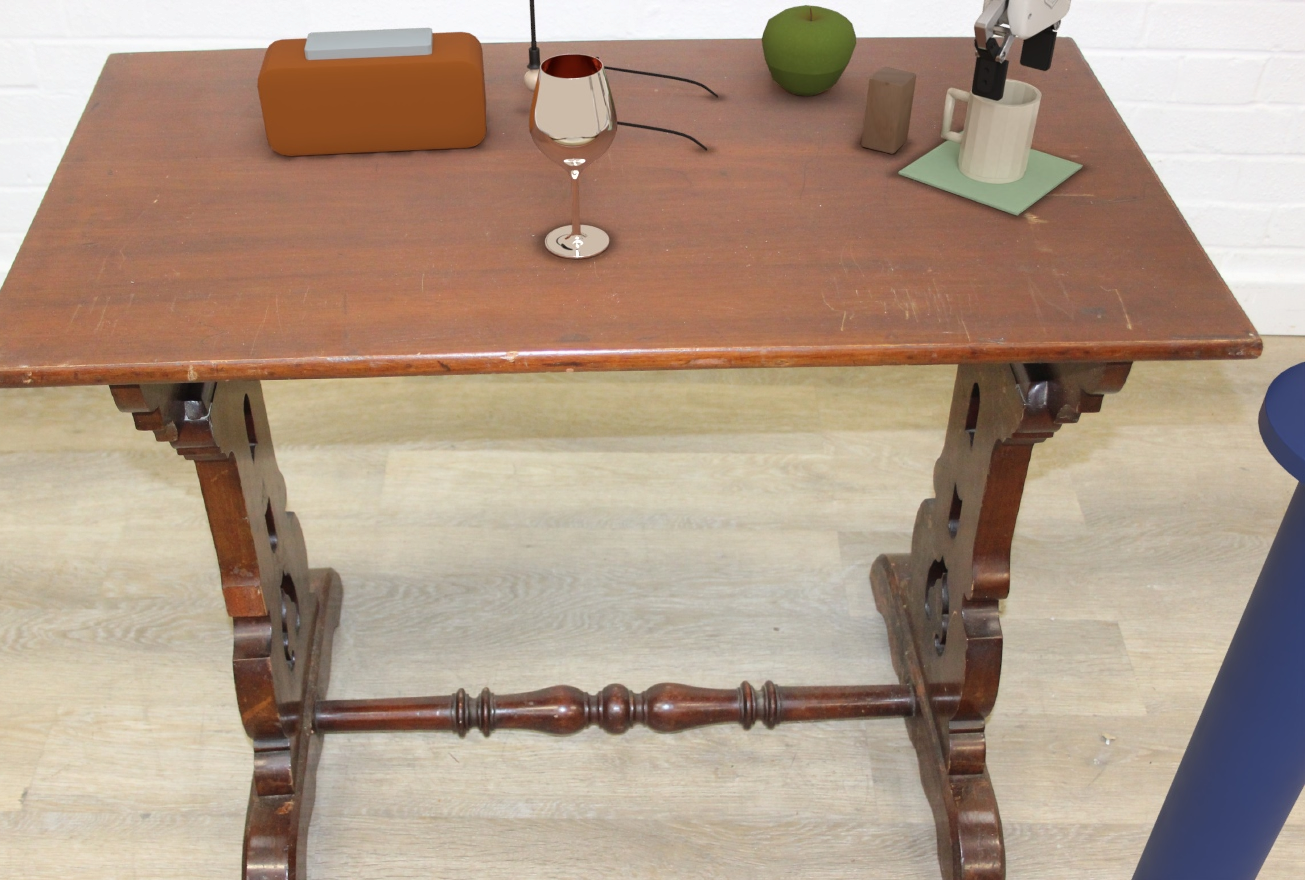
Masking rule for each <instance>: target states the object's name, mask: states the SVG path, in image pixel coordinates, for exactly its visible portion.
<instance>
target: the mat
mask: <svg viewBox="0 0 1305 880" xmlns="http://www.w3.org/2000/svg"><path fill="white" fill-rule="evenodd" d="M958 133H959V134H962V135H963V130H962V131H960V132H958ZM960 148H961V144H958V143H955V142H952V141H949V140H946V141H944V142H943V143H941V144H939V145H937V146H936V147H934V148H933V149H932V150H929V151H928V152H927V153H926V154H924V155H922V156H920V157H919V158H917V159H916V160H915V161H913V162H912V163H910V164H908V165H907V166H905V167H903V168H902V169H900V170H899V171H898V175H899V176H903V177H905V178H908V179H911V180H914V181H917V182H919V183H923V184H925V185H928V186H931V187H934V188H937V189H940V190H943V191H945V192H949V193H951V194H954V195H957V196H958V197H959V196H960V197H963V198H965V199H968V200H970V201H974V202H977V203H979V204H982V205H986V206H988V207H991V208H994V209H997V210H999V211H1003V212H1005V213H1008V214H1010V215H1014V216H1017V217H1018V216H1019V215H1021V214H1022V213H1023V212H1024V211H1026V210H1027V209H1029V208H1030V207H1031V206H1033V205H1034V204H1035V203H1037V202H1038V201H1040V199H1042V198H1044V197H1045V196H1046V195H1047V194H1048V193H1051V191H1053V190H1055V188H1057V187H1058V186H1060V185H1061V184H1062V183H1063V182H1065V181H1066V180H1067V179H1069V178H1070V177H1071V176H1073V175H1074V174H1076V173H1077V172H1078V171H1080V170H1081V169H1083V166H1084V165H1083V164H1082V163H1081V164H1080V163H1077V162H1074V161H1071V160H1068V159H1065V158H1062V157H1058V156H1055V155H1053V154H1050V153H1046V152H1043V151H1040V150H1037V149H1033V148H1031V149H1030V154H1029V159H1028V163H1027V168H1026V173H1025V175H1024V176H1023V177H1022V178H1021V179H1019V180H1017V181H1015V182H1011V183H1005V184H991V183H984V182H979V181H976V180H973V179H971V178H968V177H967V176H965V175H964V174H962V173H961V172H960V170H959V168H958V159H959V153H960Z"/></svg>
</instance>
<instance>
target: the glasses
mask: <svg viewBox="0 0 1305 880" xmlns="http://www.w3.org/2000/svg"><path fill="white" fill-rule="evenodd" d="M594 57H595V58H598V59H599V60H600V57H599V56H594ZM603 66H604V69H605V70H610V71H615V72H622V73H628V74H636V75H643V76H649V77H657V78H662V79H669V80H675V81H679V82H684V83H688V84H692V85H696V86H699V87H701V88H702V89H704V90H706V91H707V92H709V93H710V94H711V95H712V96H714V97H715V98H719V95H718V94H717V93H715V92H714V91H713V90H712V89H711V88H709V87H708V86H707V85H705V84H703V83H701V82H699V81H696V80H693V79H689V78H684V77H680V76H674V75H669V74H662V73H654V72H648V71H641V70H634V69H629V68H620V67H613V66H605V65H603ZM618 125H619V126H624V127H631V128H638V129H643V130H649V131H650V130H651V131H656V132H662V133H667V134H671V135H676V136H680V137H683V138H686V139H688V140H690V141H692V142H693V143H695V144H696V145H697V146H699V147H701V148H702V149H703V150H705V151H708V148H707V147H706V146H705V144H704V145H703V144H702V143H701V142H700V141H699V140H698V139H696V138H694V137H693V136H691V135H689V134H686V133H684V132H681V131H677V130H674V129H673V130H672V129H667V128H663V127H657V126H651V125H645V124H638V123H631V122H624V121H620V120H619V121H618V120H617V126H618Z"/></svg>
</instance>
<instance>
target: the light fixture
mask: <svg viewBox="0 0 1305 880" xmlns="http://www.w3.org/2000/svg"><path fill="white" fill-rule="evenodd" d="M535 11H536V9H535V0H529V20H530V39H531V40H530V47H529V48H528V64H527V65H526V68H527V69H528V70H527V71H526V73H525V74H524V76H523V84H524V86H525V88H526V90H529V91H530V92H534V90H535V86H536V81H537V77H538V73H539V68H540V65H541V63H542V62H541V52H540V51H541V50H540V47H538V44H537V43H538V42H537V35H536V34H537V33H536V12H535Z"/></svg>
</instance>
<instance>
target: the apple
mask: <svg viewBox="0 0 1305 880" xmlns="http://www.w3.org/2000/svg"><path fill="white" fill-rule="evenodd" d="M856 45H857V35H856V32H855V28H854V25H853V23H852V22H851V21H850V19H848V18H847V17H846V16H844V15H843V14H842V13H840V12H838V11H837V10H834V9H830V8H826V7H822V6H819V5H809V4H808V5H807V4H805V5H797V6H792V7H789V8H785V9H783V10H782V11H781V12H779V13H777V14H775V15H773V16H772V17H770V18H769V19H768V20H767V23H766V24H765V27H764V30H763V32H762V36H761V46H762V51H763V57H764V61H765V63H766V66H767V69H768V70H769V73H770V76H771V79H772V81H773V82H775V83H776V84H777V85H778V86H780V87H781V88H783V89H784V90H786V91H787V92H788V93H790V94H793V95H796V96H805V97H810V96H811V97H812V96H816V95H818V94H820V93H823V92H825V91H827V90H829V89H831V88H832V87H834V86H835V85H836V84H837V83H838V81H839V80H840V78H841V76H842V75H843V74H844V72H845V70H846V68H847V67H848V66H849V64H850V61H851V58H852V56H853V54H854V51H855V48H856Z"/></svg>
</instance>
